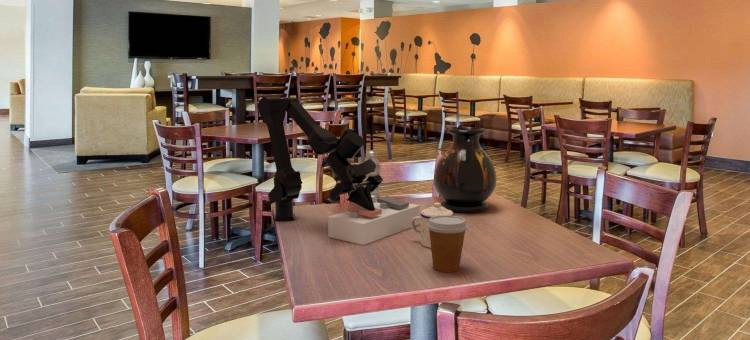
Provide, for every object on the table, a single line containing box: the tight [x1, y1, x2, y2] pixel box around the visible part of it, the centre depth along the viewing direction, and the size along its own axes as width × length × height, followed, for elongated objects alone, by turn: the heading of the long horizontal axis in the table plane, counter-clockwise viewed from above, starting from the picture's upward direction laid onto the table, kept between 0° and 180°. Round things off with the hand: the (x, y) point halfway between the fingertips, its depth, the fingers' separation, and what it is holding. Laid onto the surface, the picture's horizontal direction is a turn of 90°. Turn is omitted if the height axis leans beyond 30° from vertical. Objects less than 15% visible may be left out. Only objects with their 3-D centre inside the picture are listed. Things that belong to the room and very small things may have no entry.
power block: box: [327, 202, 421, 246], centre depth 170 cm, size 13×28×8 cm, turn 143°
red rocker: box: [347, 204, 382, 217], centre depth 163 cm, size 8×5×1 cm, turn 53°
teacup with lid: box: [411, 201, 455, 249], centre depth 156 cm, size 12×9×12 cm
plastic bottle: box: [363, 149, 382, 203], centre depth 198 cm, size 6×7×20 cm
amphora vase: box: [433, 126, 497, 214], centre depth 197 cm, size 22×22×28 cm
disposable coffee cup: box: [427, 215, 468, 273], centre depth 136 cm, size 10×10×12 cm
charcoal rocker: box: [377, 195, 410, 209], centre depth 174 cm, size 8×5×1 cm, turn 53°
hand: (373, 210), depth 161 cm, fingers closed, pressing on red rocker
